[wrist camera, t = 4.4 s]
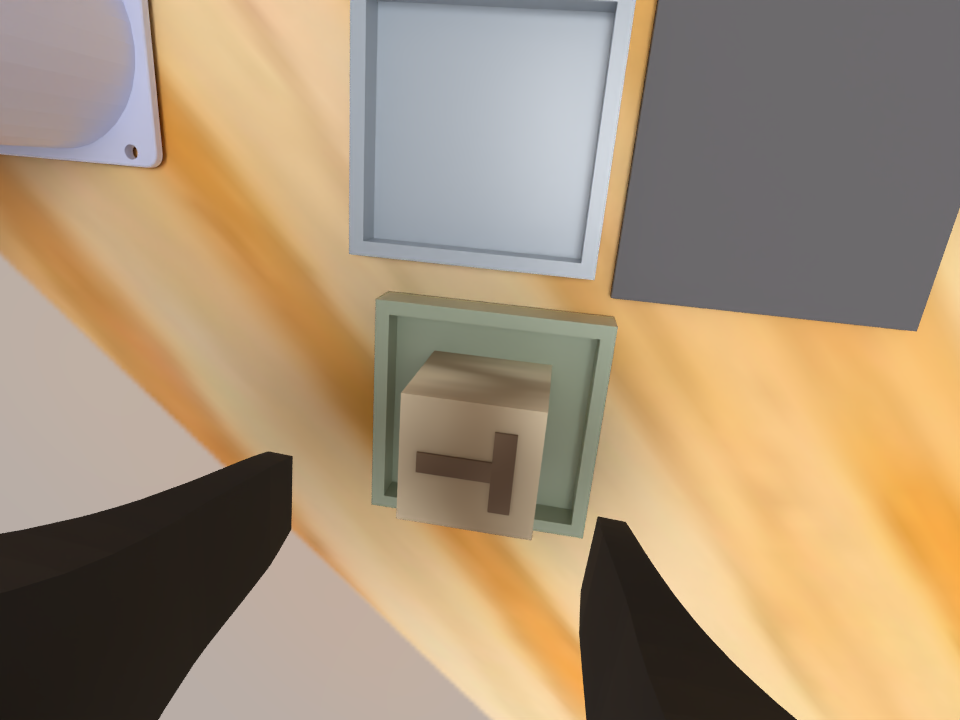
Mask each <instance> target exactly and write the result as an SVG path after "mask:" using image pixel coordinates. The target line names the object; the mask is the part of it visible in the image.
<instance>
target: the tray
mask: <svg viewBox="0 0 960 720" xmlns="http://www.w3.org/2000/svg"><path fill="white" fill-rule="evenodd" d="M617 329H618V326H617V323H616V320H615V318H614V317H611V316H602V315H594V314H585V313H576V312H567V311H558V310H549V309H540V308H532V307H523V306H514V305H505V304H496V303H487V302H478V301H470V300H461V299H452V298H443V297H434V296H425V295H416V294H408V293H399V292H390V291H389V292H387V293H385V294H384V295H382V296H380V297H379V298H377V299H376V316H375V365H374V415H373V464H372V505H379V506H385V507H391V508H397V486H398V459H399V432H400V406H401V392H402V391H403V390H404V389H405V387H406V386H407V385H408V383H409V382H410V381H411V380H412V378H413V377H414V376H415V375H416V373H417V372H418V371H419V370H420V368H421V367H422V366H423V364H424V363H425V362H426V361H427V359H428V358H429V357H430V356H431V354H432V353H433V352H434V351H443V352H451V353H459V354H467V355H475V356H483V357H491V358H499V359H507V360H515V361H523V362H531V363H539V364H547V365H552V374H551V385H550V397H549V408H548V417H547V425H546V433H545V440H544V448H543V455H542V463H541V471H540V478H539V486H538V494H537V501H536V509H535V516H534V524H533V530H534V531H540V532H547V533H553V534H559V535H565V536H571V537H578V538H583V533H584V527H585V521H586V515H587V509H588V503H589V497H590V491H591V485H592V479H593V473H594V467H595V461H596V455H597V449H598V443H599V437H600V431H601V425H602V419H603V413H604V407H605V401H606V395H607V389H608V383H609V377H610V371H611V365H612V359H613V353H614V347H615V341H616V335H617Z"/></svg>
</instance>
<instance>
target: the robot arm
mask: <svg viewBox="0 0 960 720" xmlns="http://www.w3.org/2000/svg"><path fill="white" fill-rule="evenodd" d="M134 146H135V147H136V149H137V151H138V156H137V157H136V158H135V156H134V155H133V148H134ZM0 154H3V155H14V156H25V157H36V158H47V159H58V160H69V161H80V162H91V163H102V164H113V165H124V166H135V167H147V168H153V167H157V166H158V165H160V163H161V161H162V157H163V153H162V142H161V132H160V122H159V112H158V101H157V91H156V81H155V71H154V60H153V50H152V40H151V30H150V20H149V9H148V0H0ZM292 459H293V456H289V455H284V454H279V453H274V452H265V453H262V454H259V455H256V456H253V457H250V458H248V459H245V460H243V461H240V462H238V463H235V464H233V465H230V466H228V467H225V468H223V469H220V470H218V471H215V472H213V473H210V474H208V475H205V476H203V477H201V478H198V479H196V480H193V481H190V482H188V483H185V484H182V485H180V486H177V487H174V488H171V489H169V490H166V491H163V492H160V493H158V494H155V495H152V496H149V497H147V498H144V499H141V500H138V501H135V502H132V503H129V504H125V505H122V506H119V507H115V508H112V509H108V510H105V511H101V512H98V513H94V514H91V515H87V516H83V517H79V518H74V519H70V520H65V521H61V522H56V523H52V524H48V525H43V526H38V527H34V528H29V529H24V530H19V531H14V532H7V533H2V534H0V720H158V719H159V718H160V716H161V714H162V713H163V711H164V709H165V708H166V706H167V705H168V703H169V701H170V700H171V698H172V697H173V695H174V694H175V692H176V690H177V689H178V688H179V686H180V684H181V683H182V681H183V680H184V678H185V677H186V675H187V674H188V672H189V671H190V669H191V667H192V666H193V664H194V663H195V662H196V660H197V659H198V657H199V656H200V655H201V653H202V652H203V651H204V649H205V648H206V647H207V645H208V644H209V643H210V641H211V640H212V639H213V638H214V636H215V635H216V634H217V633H218V631H219V630H220V629H221V627H222V626H223V625H224V624H225V622H226V621H227V620H228V619H229V617H230V616H231V615H232V614H233V612H234V611H235V610H236V609H237V607H238V606H239V605H240V604H241V602H242V601H243V600H244V598H245V597H246V596H247V595H248V593H249V592H250V591H251V590H252V588H253V587H254V586H255V584H256V583H257V582H258V580H259V579H260V578H261V577H262V575H263V574H264V573H265V571H266V570H267V569H268V567H269V566H270V565H271V563H272V561H273V560H274V558H275V556H276V555H277V553H278V552H279V550H280V548H281V546H282V545H283V543H284V541H285V539H286V538H287V536H288V534H289V532H290V531H291V516H292ZM579 637H580V650H581V662H582V674H583V685H584V697H585V708H586V720H797V719H795V718H794V717H793V716H792V715H791V714H789V713H788V712H787V711H786V710H785V709H784V708H782V707H781V706H780V705H779V704H778V703H776V702H775V701H774V700H773V699H772V698H771V697H770V696H769V695H767V694H766V693H765V692H764V691H763V690H762V689H761V688H760V687H759V686H758V685H757V684H755V683H754V682H753V681H752V680H751V679H750V678H749V677H748V676H747V675H746V674H745V673H744V672H743V671H742V670H741V669H740V668H738V667H737V666H736V665H735V664H734V663H733V662H732V661H731V660H730V659H729V658H728V656H727V655H726V654H725V653H724V652H723V651H722V650H721V649H720V648H719V647H718V646H717V645H716V644H715V643H714V642H713V641H712V639H711V638H710V637H709V636H708V635H707V634H706V633H705V632H704V631H703V630H702V628H701V627H700V626H699V625H698V624H697V623H696V621H695V620H694V619H693V618H692V616H691V615H690V614H689V613H688V612H687V610H686V609H685V608H684V607H683V605H682V604H681V603H680V602H679V600H678V599H677V598H676V596H675V595H674V594H673V592H672V591H671V590H670V588H669V587H668V585H667V584H666V583H665V581H664V580H663V578H662V577H661V575H660V574H659V573H658V571H657V570H656V568H655V567H654V565H653V564H652V562H651V561H650V559H649V558H648V556H647V555H646V553H645V551H644V550H643V548H642V547H641V545H640V544H639V542H638V540H637V539H636V537H635V536H634V534H633V533H632V531H631V529H630V528H629V526H628V525H627V523H626V522H623V521H618V520H613V519H608V518H603V517H598V518H597V522H596V527H595V531H594V535H593V540H592V544H591V549H590V553H589V557H588V562H587V566H586V570H585V575H584V579H583V583H582V588H581V598H580V627H579Z"/></svg>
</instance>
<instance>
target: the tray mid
mask: <svg viewBox="0 0 960 720" xmlns="http://www.w3.org/2000/svg"><path fill="white" fill-rule="evenodd" d="M635 3H636V0H350V185H349V254H353V255H362V256H371V257H381V258H390V259H400V260H409V261H419V262H428V263H438V264H447V265H457V266H466V267H476V268H485V269H495V270H504V271H514V272H523V273H532V274H542V275H551V276H561V277H570V278H580V279H589V280H594V279H595V273H596V266H597V259H598V252H599V246H600V239H601V232H602V225H603V219H604V212H605V205H606V198H607V192H608V185H609V178H610V171H611V165H612V158H613V151H614V144H615V138H616V131H617V124H618V117H619V111H620V104H621V97H622V90H623V84H624V77H625V70H626V63H627V57H628V50H629V43H630V36H631V30H632V23H633V16H634V9H635Z"/></svg>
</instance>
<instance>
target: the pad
mask: <svg viewBox="0 0 960 720" xmlns="http://www.w3.org/2000/svg"><path fill="white" fill-rule="evenodd" d="M959 208H960V0H658V1H657V7H656V13H655V19H654V26H653V32H652V38H651V45H650V51H649V57H648V63H647V70H646V76H645V82H644V89H643V95H642V101H641V107H640V114H639V120H638V126H637V133H636V139H635V145H634V151H633V158H632V164H631V170H630V177H629V183H628V189H627V195H626V202H625V208H624V214H623V221H622V227H621V233H620V239H619V246H618V252H617V258H616V265H615V271H614V277H613V283H612V290H611V298H615V299H624V300H634V301H643V302H652V303H661V304H670V305H679V306H689V307H698V308H707V309H716V310H725V311H734V312H744V313H753V314H762V315H771V316H780V317H789V318H799V319H808V320H817V321H826V322H835V323H844V324H854V325H863V326H872V327H881V328H890V329H899V330H909V331H917V329H918V326H919V323H920V320H921V317H922V314H923V312H924V309H925V306H926V303H927V300H928V297H929V294H930V291H931V289H932V286H933V283H934V280H935V277H936V274H937V271H938V268H939V266H940V263H941V260H942V257H943V254H944V251H945V248H946V245H947V243H948V240H949V237H950V234H951V231H952V228H953V225H954V222H955V219H956V217H957V214H958V211H959Z"/></svg>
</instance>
